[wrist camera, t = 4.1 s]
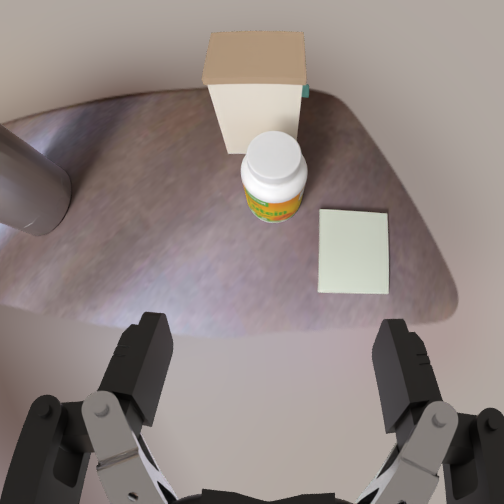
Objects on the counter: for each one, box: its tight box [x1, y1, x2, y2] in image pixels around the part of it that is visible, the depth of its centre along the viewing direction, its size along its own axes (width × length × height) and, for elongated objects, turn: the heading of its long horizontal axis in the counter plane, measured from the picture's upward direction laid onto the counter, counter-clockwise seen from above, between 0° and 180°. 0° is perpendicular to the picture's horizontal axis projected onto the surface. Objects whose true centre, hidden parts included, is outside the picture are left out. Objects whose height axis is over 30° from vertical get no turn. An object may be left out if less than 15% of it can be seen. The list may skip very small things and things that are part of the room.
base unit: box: [202, 31, 309, 154], centre depth 27 cm, size 8×5×13 cm
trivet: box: [317, 209, 389, 294], centre depth 30 cm, size 7×8×1 cm
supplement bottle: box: [241, 131, 307, 223], centre depth 27 cm, size 5×5×10 cm
